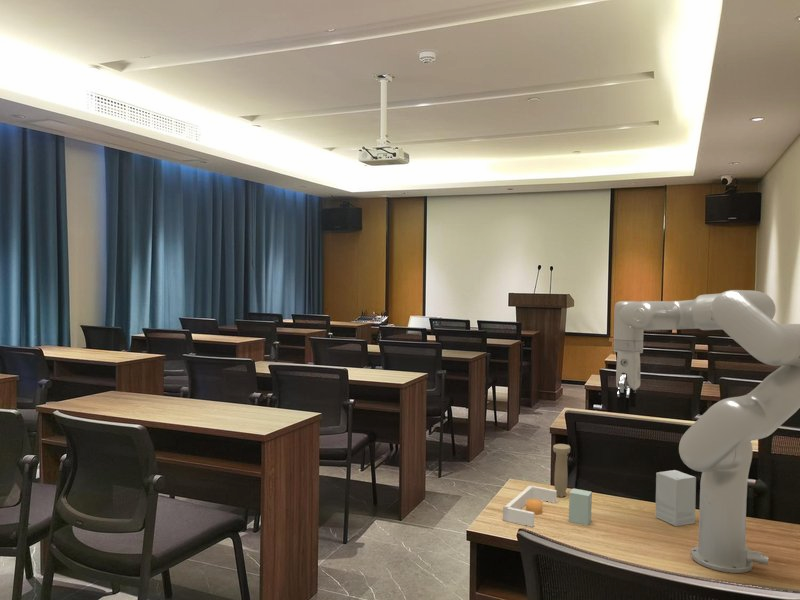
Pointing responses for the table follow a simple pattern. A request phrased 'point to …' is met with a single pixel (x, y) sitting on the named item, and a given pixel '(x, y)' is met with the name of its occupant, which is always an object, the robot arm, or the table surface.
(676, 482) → the supplement box
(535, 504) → the puck
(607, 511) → the table surface
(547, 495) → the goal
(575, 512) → the grey tall block
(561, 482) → the handle
